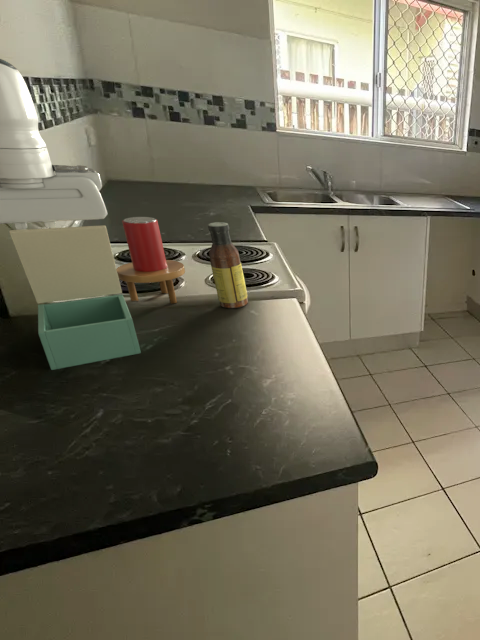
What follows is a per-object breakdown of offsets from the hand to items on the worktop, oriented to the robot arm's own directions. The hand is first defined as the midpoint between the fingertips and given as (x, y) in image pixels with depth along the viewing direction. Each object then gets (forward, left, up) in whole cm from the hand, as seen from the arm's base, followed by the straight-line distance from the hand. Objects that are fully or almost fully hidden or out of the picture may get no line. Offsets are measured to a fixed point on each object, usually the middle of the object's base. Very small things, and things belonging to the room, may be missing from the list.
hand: (43, 246), depth 84 cm
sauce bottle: (+11, +29, -19) cm, 36 cm away
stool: (-6, +24, -19) cm, 31 cm away
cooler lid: (+2, +2, -4) cm, 5 cm away
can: (-6, +24, -11) cm, 27 cm away
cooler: (+6, 0, -19) cm, 20 cm away
